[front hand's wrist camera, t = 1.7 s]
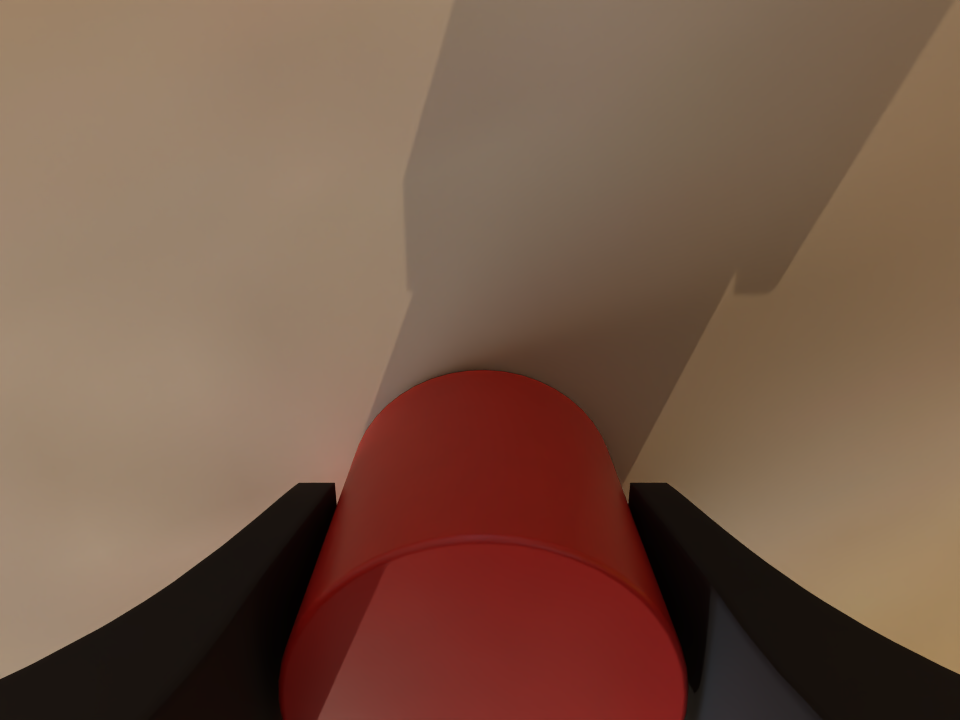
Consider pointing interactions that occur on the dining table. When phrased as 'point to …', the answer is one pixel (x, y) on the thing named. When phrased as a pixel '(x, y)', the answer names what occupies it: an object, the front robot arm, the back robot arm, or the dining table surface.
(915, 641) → the dining table surface
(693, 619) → the front robot arm
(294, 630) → the cylinder
